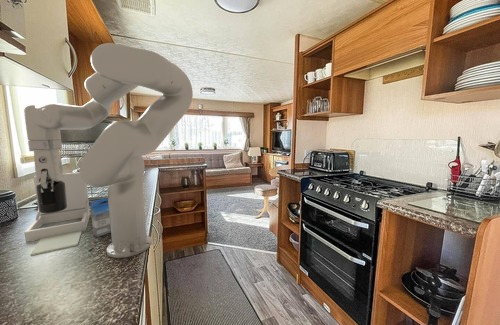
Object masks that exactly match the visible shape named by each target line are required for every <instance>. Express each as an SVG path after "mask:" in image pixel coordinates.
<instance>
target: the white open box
mask: <svg viewBox="0 0 500 325" xmlns="http://www.w3.org/2000/svg"><path fill="white" fill-rule="evenodd" d="M61 181H63V182H64V183H65V188H66V199H67V208H66V209H64V210H62V211H58V212H53V213H41V212H39V208H38V207H37V213H36V216H35V219H34V221H32V223H31V224H30V225H29V226H28V228H26V230H25V231H24V239H25V243H27V242H33V241H40V240H41V239H43V238H48V237H53V236H58V235H63V234H68V233H74V232H79V231H82V232H85V231H86V229H87V228H88V223H89V220H90V215H91V211H90V201H89V192H88V184H87V183H85V182H84V180H83V179H82V177H81V175H80V171H79V172H66V173H64V177H63V178H62V179H61ZM33 182H34V189H35V196H36V202H37V205H38V199H37V190H36V186H37V185H38V184H39V183H38V182H37V178H36V175H34V176H33ZM76 219H81V221H75V222H70V223H65V224H64V223H63V224H60V225H59V224H57V225H53V226H48V227H42V226H44V225H48V224H53V223H59V222H60V223H61V222H64V221H71V220H76Z"/></svg>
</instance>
